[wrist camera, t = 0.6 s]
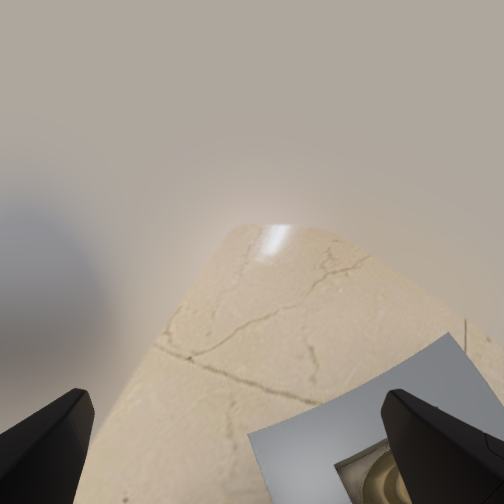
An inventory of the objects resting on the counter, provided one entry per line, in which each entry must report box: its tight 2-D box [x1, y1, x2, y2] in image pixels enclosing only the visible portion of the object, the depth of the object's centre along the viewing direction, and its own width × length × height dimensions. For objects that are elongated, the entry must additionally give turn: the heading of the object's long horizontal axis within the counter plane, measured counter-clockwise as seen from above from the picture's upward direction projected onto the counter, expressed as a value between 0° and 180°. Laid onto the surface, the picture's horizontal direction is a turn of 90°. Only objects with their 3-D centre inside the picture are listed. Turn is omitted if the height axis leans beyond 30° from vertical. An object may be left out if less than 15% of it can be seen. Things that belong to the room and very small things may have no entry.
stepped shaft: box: [360, 450, 412, 504], centre depth 11 cm, size 6×6×10 cm
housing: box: [247, 332, 504, 504], centre depth 13 cm, size 16×16×4 cm
